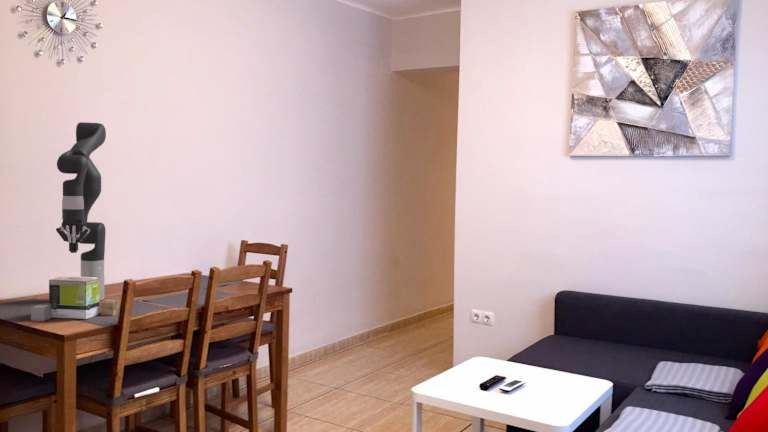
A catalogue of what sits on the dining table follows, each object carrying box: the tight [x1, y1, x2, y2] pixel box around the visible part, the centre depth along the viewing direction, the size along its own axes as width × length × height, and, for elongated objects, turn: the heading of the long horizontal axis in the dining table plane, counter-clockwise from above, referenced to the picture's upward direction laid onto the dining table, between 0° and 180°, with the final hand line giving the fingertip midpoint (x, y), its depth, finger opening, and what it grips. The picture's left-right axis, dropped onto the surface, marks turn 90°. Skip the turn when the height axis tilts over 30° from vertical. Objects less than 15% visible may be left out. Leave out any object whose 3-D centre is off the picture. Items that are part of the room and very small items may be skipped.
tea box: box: [48, 275, 101, 320], centre depth 250 cm, size 15×10×15 cm, turn 84°
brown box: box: [100, 299, 120, 316], centre depth 256 cm, size 5×5×5 cm
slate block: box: [30, 303, 53, 322], centre depth 244 cm, size 5×5×5 cm
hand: (73, 252), depth 251 cm, fingers closed
